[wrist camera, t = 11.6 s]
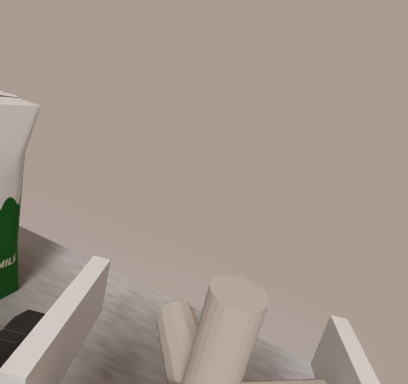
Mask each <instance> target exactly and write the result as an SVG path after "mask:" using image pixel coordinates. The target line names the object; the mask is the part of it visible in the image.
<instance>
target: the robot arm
mask: <svg viewBox="0 0 408 384" xmlns="http://www.w3.org/2000/svg"><path fill="white" fill-rule="evenodd" d="M109 266H110V259H106V258H102V257H98V256H93V257H92V259H91V260H90V261H89V262H88V263H87V265H86V266H85V267H84V268H83V269H82V271H81V272H80V273H79V274H78V275H77V277H76V278H75V279H74V280H73V281H72V283H71V284H70V285H69V286H68V287H67V289H66V290H65V291H64V292H63V293H62V295H61V296H60V297H59V298H58V299H57V301H56V302H55V303H54V304H53V305H52V307H51V308H50V309H49V310H48V311H47V313H46V314H43V313H40V312H36V311H32V310H27V311H25V312H23V313H21V314H19V315H18V316H16V317H14V318H13V319H12V320H11V321H10V322H9V323H8V324H7V325H6V326H5V327H4V330H2V331H1V332H0V384H59V382H60V381H61V379H62V377H63V375H64V374H65V372H66V370H67V369H68V367H69V365H70V364H71V362H72V360H73V358H74V357H75V355H76V353H77V352H78V350H79V348H80V347H81V345H82V343H83V341H84V340H85V338H86V336H87V335H88V333H89V331H90V330H91V328H92V326H93V324H94V323H95V321H96V319H97V318H98V316H99V314H100V313H101V311H102V306H103V300H104V295H105V289H106V283H107V277H108V272H109ZM311 365H312V369H313V372H314V376H315V379H321V380H325V381H326V382H327V383H328V384H380V383H379V381H378V379H377V377H376V375H375V373H374V371H373V369H372V367H371V365H370V363H369V361H368V359H367V357H366V355H365V353H364V351H363V349H362V347H361V345H360V343H359V341H358V339H357V337H356V335H355V333H354V331H353V329H352V327H351V326H350V324H349V322H348V320H347V319H344V318H340V317H336V316H332V315H331V316H330V318H329V321H328V323H327V325H326V328H325V330H324V333H323V335H322V338H321V340H320V342H319V345H318V347H317V350H316V352H315V355H314V357H313V359H312V362H311Z"/></svg>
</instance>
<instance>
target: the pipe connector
mask: <svg viewBox="0 0 408 384" xmlns="http://www.w3.org/2000/svg"><path fill="white" fill-rule="evenodd" d="M268 305H269V298H268V295H267V294H266V292H265V291H264V290H263V289H262V288H261V287H260V286H259V285H257V284H256V283H254V282H252V281H251V280H248V279H246V278H244V277H240V276H237V275H228V274H226V275H219V276H216V277H214V278H213V279H212V280H211V281H210V284H209V288H208V292H207V295H206V299H205V302H204V306H203V309H202V313H201V316H200V320H199V324H198V322H197V318H196V315H195V312H194V309H193V308H192V307H191V306H190V305H189V303H186V302H182V301H175V302H169V303H168V304H166V305H165V306H163V307H162V308H161V309H160V311H159V312H158V314H157V316H156V317H157V327H158V332H159V338H160V344H161V350H162V356H163V362H164V367H165V373H166V379H167V384H328V383H327V382H326V381H325V380H321V379H304V380H273V381H242V380H243V377H244V374H245V371H246V368H247V366H248V363H249V360H250V357H251V354H252V351H253V348H254V345H255V342H256V340H257V337H258V334H259V331H260V328H261V325H262V322H263V319H264V316H265V314H266V311H267V308H268Z"/></svg>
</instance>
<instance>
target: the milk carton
mask: <svg viewBox="0 0 408 384" xmlns="http://www.w3.org/2000/svg"><path fill="white" fill-rule="evenodd" d="M40 107H41V106H40V105H37V104H34V103H31V102H28V101H25V100H22V99H19V97H18V96H16V95H13V94H10V93H5V92H2V91H0V299H1V298H3V297H5V296H7V295H9V294H10V293H12V292H14V291H16V290H18V252H17V240H18V227H19V216H20V204H21V192H22V181H23V169H24V159H25V152H26V148H27V145H28V142H29V139H30V136H31V133H32V130H33V127H34V124H35V121H36V118H37V116H38V113H39V110H40Z"/></svg>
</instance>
